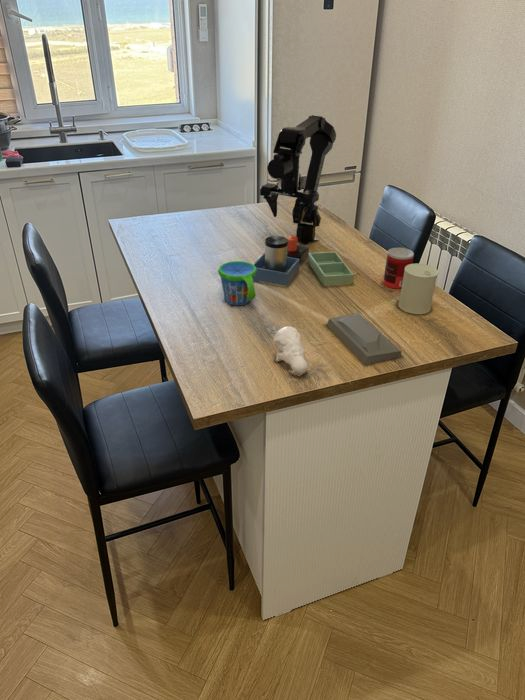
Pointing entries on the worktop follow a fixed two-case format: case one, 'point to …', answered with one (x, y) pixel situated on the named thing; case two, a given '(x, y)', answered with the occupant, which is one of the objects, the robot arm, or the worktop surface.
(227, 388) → the worktop surface
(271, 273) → the basin
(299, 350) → the white animal figurine
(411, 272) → the can
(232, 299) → the snack cup
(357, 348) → the soap mold
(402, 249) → the canned food
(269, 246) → the travel mug
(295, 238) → the tap knob
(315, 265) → the tray
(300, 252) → the black square plate
